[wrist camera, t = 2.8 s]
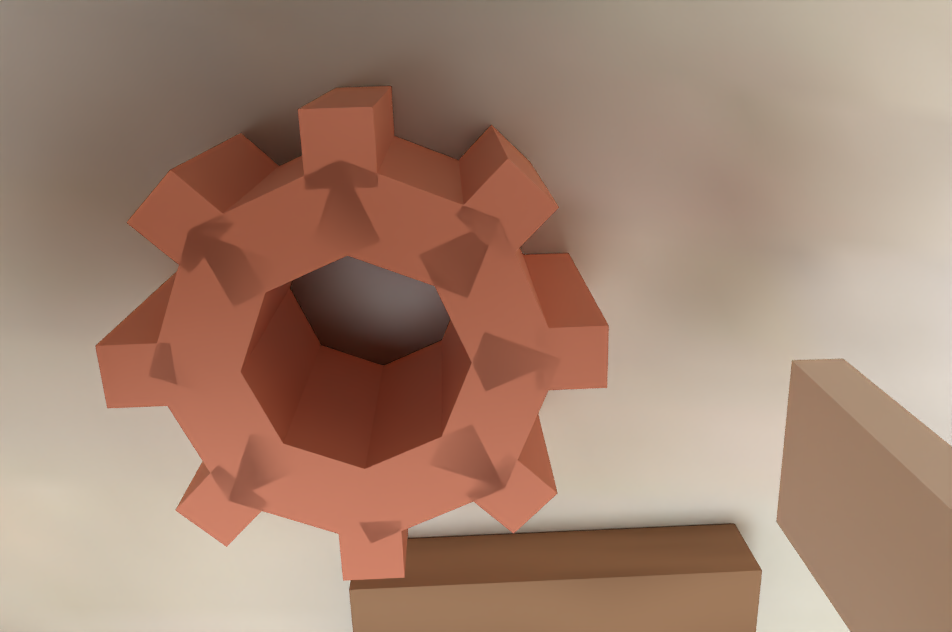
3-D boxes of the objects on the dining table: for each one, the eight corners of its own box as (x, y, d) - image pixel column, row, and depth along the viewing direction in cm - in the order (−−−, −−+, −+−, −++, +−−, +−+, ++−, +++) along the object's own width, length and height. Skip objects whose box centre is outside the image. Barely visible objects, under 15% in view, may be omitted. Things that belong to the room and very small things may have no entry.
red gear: (113, 193, 19) (1, 250, 14) (471, 23, 18) (481, 21, 13) (299, 501, 21) (259, 636, 17) (617, 368, 20) (669, 470, 16)
